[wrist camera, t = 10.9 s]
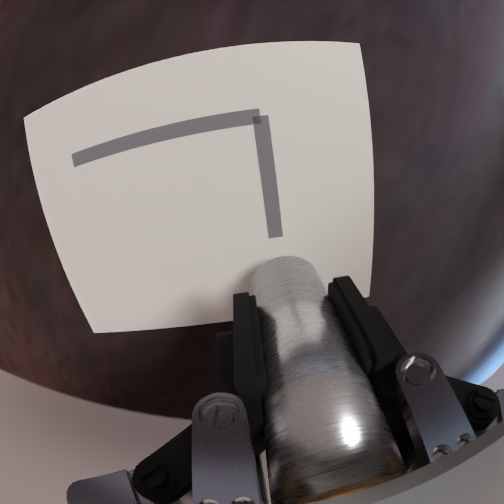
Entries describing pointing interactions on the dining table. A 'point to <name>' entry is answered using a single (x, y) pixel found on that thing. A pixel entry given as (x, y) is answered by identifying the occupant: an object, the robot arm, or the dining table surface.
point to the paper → (207, 179)
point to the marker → (316, 393)
